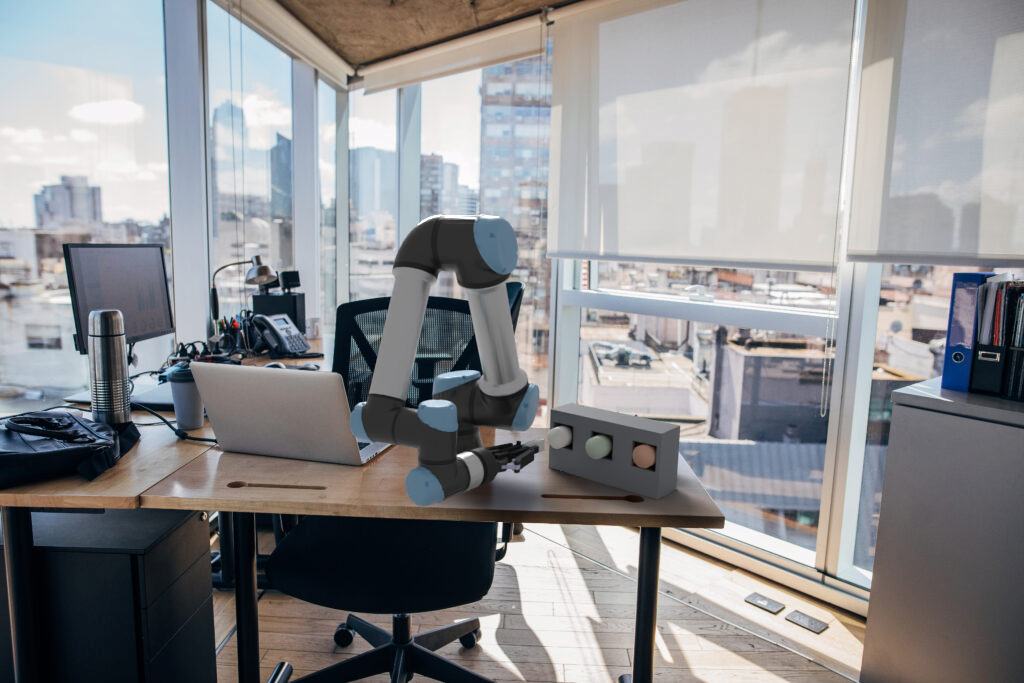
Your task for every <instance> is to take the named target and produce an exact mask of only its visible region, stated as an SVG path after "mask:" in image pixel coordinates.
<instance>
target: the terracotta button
mask: <svg viewBox="0 0 1024 683" xmlns="http://www.w3.org/2000/svg"><path fill="white" fill-rule="evenodd" d="M656 453H657V446H654V445H650V444H646V443H644V444H642V445H640V446H637V447H636V448H635V449H634V450H633V454H632V457H633V460H634V462H635V464H636V465H637V466H639V467H641V468H647V467H649V466H651V465H653V464H655V463H656Z"/></svg>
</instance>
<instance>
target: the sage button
mask: <svg viewBox="0 0 1024 683" xmlns="http://www.w3.org/2000/svg"><path fill="white" fill-rule="evenodd" d="M585 448H586V452H587V454H588V455H589V456H590V457H591V458H593V459H600V458H602V457H604V456H607V455H609V454H610V453H611V452H612V450H613V443H612V440H611V439H610V437H608V436H607V435H605V434H600V435H598V436H595V437H592V438H590V439H588V440H587V442H586V445H585Z"/></svg>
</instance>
